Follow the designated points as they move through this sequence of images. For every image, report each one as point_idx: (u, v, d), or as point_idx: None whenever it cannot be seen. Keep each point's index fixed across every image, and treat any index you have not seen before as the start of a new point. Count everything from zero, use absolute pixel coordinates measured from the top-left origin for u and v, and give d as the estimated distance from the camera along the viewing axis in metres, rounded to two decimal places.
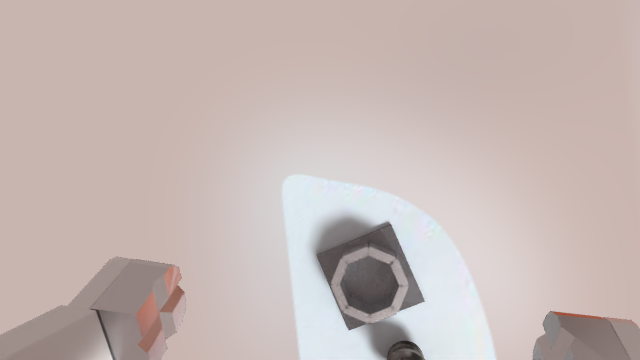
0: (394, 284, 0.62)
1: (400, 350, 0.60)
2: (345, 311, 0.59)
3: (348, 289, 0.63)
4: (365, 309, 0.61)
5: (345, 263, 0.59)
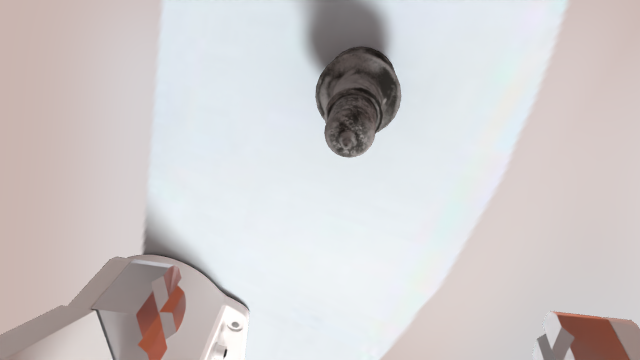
0: None
1: (361, 55, 0.28)
2: None
3: None
4: None
5: None
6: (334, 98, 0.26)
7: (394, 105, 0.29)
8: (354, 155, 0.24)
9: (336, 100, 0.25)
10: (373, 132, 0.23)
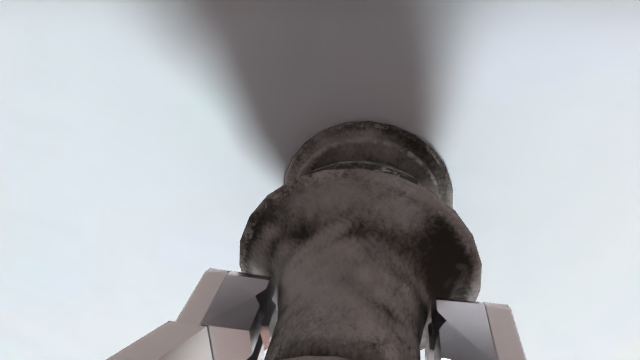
0: None
1: (373, 179, 0.09)
2: None
3: None
4: None
5: None
6: None
7: None
8: None
9: None
10: None
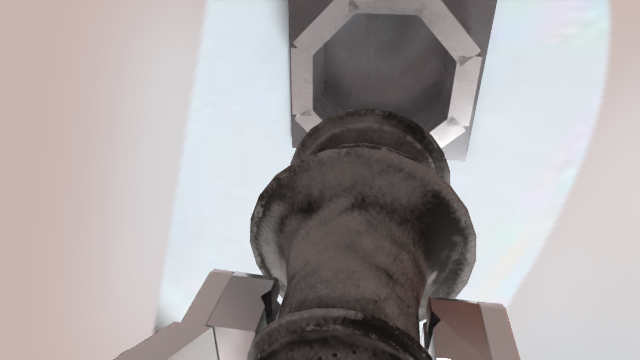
0: (427, 104, 0.27)
1: (373, 156, 0.10)
2: (300, 119, 0.25)
3: (326, 71, 0.27)
4: None
5: (351, 9, 0.22)
6: (275, 338, 0.07)
7: (456, 279, 0.11)
8: None
9: (281, 348, 0.07)
10: None
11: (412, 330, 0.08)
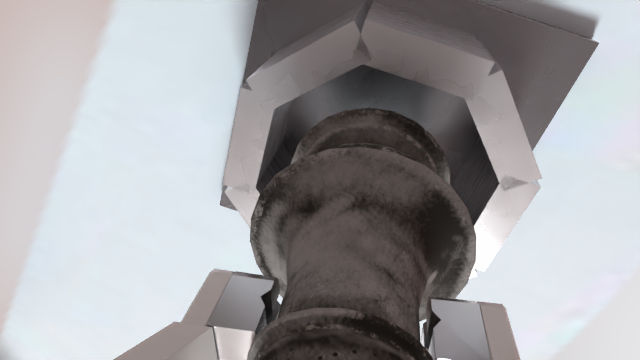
0: None
1: (374, 156, 0.10)
2: (233, 194, 0.16)
3: (292, 118, 0.18)
4: None
5: (358, 56, 0.12)
6: (275, 337, 0.07)
7: (456, 279, 0.11)
8: None
9: (281, 347, 0.07)
10: None
11: (412, 330, 0.08)
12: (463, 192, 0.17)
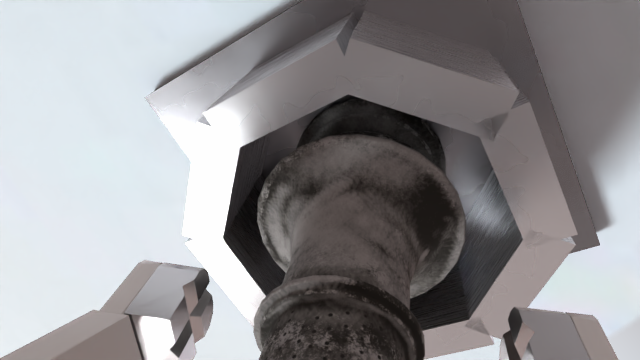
0: None
1: (370, 142, 0.11)
2: (205, 133, 0.11)
3: None
4: (242, 194, 0.13)
5: (484, 126, 0.10)
6: (278, 301, 0.08)
7: (447, 257, 0.12)
8: None
9: (283, 310, 0.08)
10: None
11: (401, 297, 0.09)
12: None
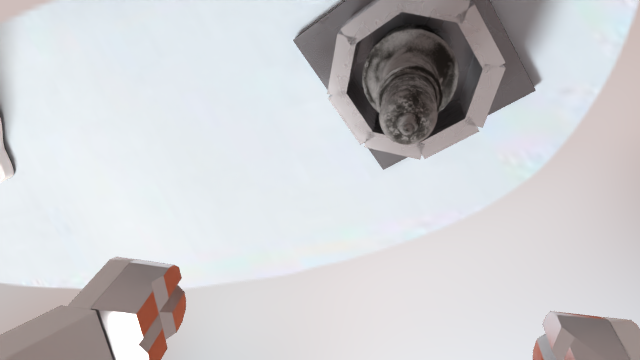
0: None
1: (413, 31, 0.25)
2: (341, 38, 0.26)
3: None
4: (351, 76, 0.28)
5: (458, 17, 0.24)
6: (386, 80, 0.23)
7: (451, 84, 0.26)
8: (414, 142, 0.21)
9: (389, 82, 0.23)
10: (436, 114, 0.20)
11: None
12: None
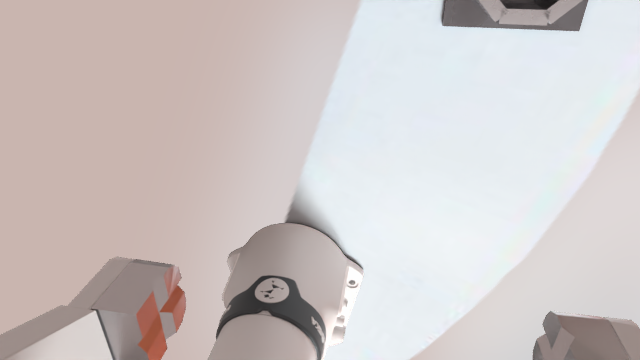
0: None
1: None
2: None
3: None
4: None
5: None
6: None
7: None
8: None
9: None
10: None
11: None
12: None
